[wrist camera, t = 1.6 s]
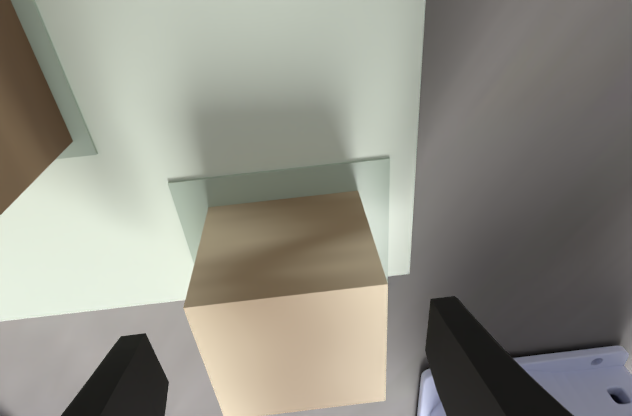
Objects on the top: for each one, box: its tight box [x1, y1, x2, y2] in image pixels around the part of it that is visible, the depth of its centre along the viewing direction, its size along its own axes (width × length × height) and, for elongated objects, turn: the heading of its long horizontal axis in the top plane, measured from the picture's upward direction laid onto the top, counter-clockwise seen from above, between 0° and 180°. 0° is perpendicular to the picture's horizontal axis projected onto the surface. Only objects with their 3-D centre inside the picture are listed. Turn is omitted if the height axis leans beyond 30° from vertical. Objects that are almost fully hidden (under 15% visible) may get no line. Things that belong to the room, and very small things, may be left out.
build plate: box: [0, 0, 426, 321], centre depth 12 cm, size 16×14×1 cm
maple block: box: [183, 191, 388, 416], centre depth 12 cm, size 4×4×4 cm
